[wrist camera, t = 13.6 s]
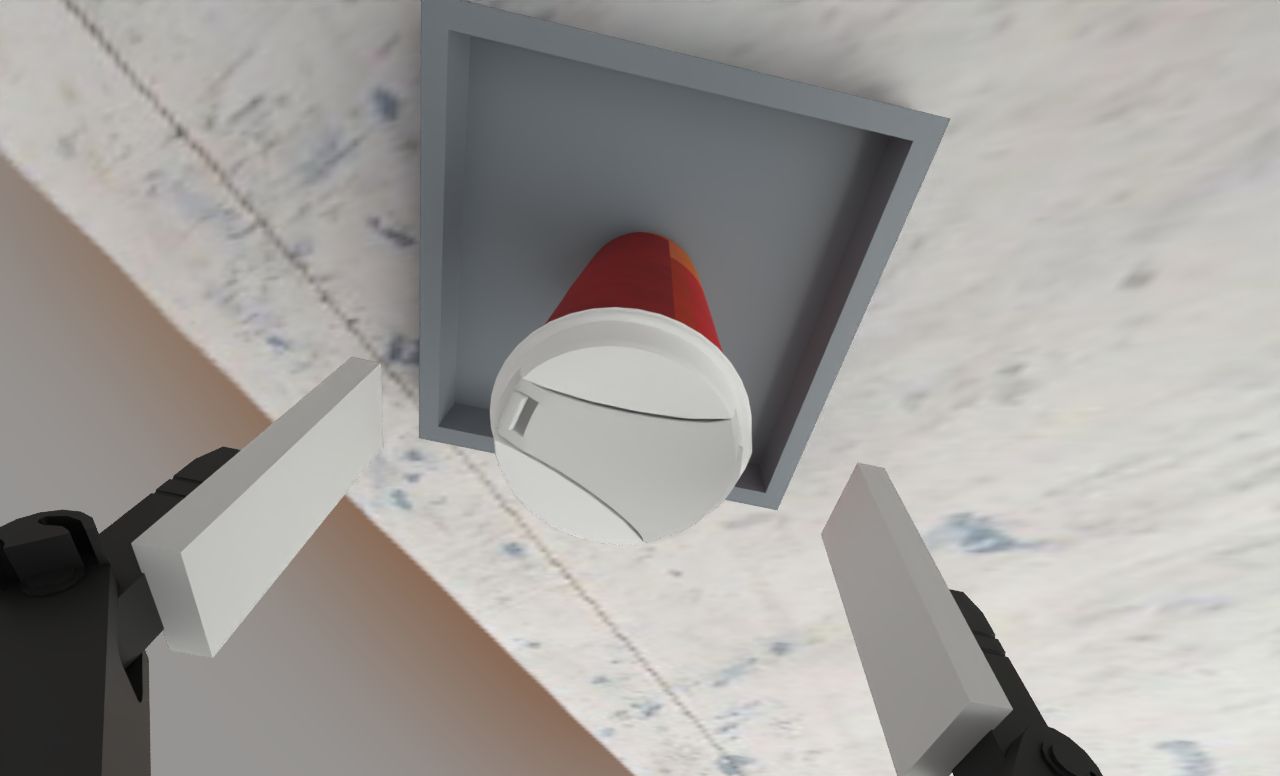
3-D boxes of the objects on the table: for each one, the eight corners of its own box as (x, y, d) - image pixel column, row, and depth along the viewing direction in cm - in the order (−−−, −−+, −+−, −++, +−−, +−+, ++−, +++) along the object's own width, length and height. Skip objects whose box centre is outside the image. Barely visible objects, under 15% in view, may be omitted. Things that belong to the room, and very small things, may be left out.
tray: (914, 114, 24) (950, 118, 21) (768, 470, 33) (777, 510, 30) (455, 2, 23) (421, -10, 20) (443, 404, 32) (419, 438, 29)
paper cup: (542, 318, 28) (442, 499, 16) (603, 177, 25) (534, 272, 12) (676, 380, 30) (677, 591, 17) (752, 255, 26) (821, 410, 14)
